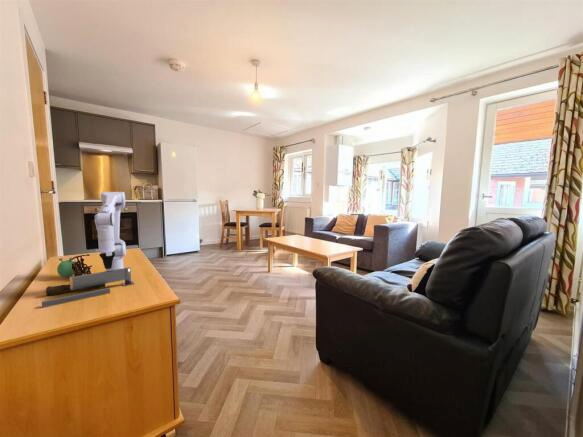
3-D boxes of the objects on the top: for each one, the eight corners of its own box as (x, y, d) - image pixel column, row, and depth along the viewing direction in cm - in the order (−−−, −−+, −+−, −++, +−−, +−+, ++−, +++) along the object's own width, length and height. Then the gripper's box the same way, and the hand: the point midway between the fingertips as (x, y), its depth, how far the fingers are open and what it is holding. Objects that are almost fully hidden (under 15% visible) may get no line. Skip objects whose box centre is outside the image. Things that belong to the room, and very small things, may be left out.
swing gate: (130, 281, 113) (129, 267, 113) (131, 283, 112) (130, 268, 111) (71, 293, 99) (69, 277, 99) (71, 295, 98) (69, 278, 97)
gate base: (122, 283, 112) (122, 283, 112) (132, 281, 115) (132, 281, 115) (123, 286, 109) (123, 285, 109) (134, 284, 112) (134, 283, 112)
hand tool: (45, 298, 97) (44, 286, 96) (49, 294, 100) (48, 283, 100) (103, 289, 106) (103, 279, 105) (105, 286, 109) (105, 276, 109)
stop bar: (42, 306, 89) (41, 301, 89) (109, 291, 103) (109, 287, 103) (42, 307, 88) (41, 302, 88) (110, 292, 102) (109, 288, 101)
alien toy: (80, 273, 126) (79, 255, 125) (72, 278, 118) (70, 258, 117) (63, 275, 123) (62, 256, 123) (54, 280, 116) (52, 260, 115)
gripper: (93, 238, 112) (95, 266, 113) (96, 242, 101) (98, 274, 102) (112, 236, 116) (114, 264, 118) (116, 240, 106) (118, 270, 107)
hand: (108, 268), depth 110 cm, fingers closed
